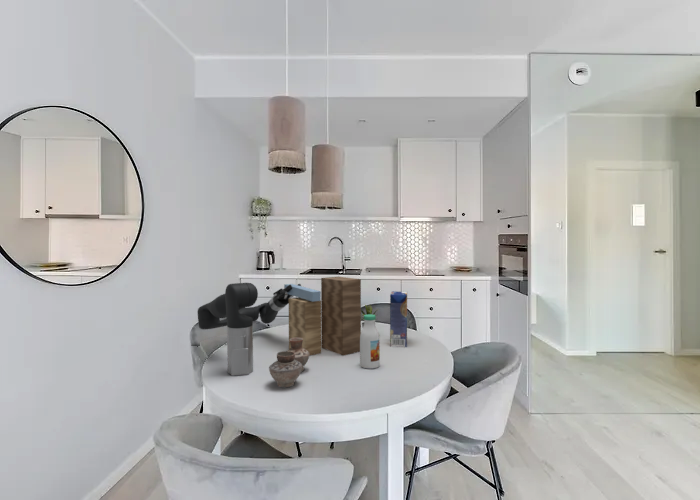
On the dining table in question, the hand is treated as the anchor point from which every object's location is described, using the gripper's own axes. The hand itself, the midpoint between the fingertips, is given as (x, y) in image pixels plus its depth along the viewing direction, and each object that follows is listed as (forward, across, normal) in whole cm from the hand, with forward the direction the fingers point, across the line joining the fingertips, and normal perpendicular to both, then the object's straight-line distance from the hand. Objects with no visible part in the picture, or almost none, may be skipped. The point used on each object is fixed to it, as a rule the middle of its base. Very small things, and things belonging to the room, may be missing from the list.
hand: (295, 286), depth 178 cm
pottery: (+14, -21, +41) cm, 48 cm away
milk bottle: (+21, +9, +45) cm, 51 cm away
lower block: (-7, 0, +28) cm, 29 cm away
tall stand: (-1, +14, +32) cm, 35 cm away
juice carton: (+8, +42, +37) cm, 56 cm away
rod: (+2, 0, +6) cm, 7 cm away
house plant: (-12, +41, +26) cm, 50 cm away
